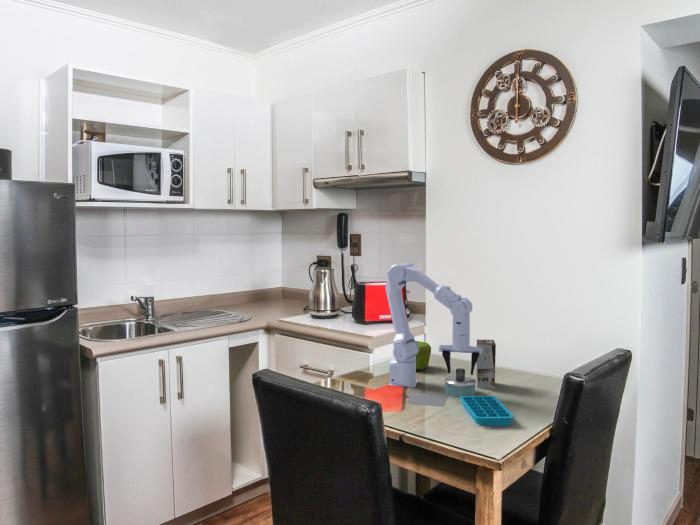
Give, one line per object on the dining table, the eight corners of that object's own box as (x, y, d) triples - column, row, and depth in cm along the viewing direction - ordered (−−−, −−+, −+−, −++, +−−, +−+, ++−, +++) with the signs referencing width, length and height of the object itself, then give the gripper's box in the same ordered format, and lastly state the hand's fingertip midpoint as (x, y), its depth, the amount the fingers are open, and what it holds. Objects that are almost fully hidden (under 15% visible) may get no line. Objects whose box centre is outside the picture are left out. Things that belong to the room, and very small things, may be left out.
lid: (442, 385, 182) (442, 371, 182) (447, 377, 192) (447, 364, 192) (473, 388, 179) (473, 374, 178) (477, 380, 188) (477, 367, 188)
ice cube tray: (475, 428, 155) (475, 418, 155) (458, 405, 175) (458, 396, 175) (515, 427, 155) (515, 417, 155) (494, 404, 176) (494, 395, 175)
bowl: (444, 396, 183) (444, 385, 182) (447, 388, 192) (447, 377, 192) (474, 399, 180) (474, 387, 180) (475, 390, 189) (476, 379, 189)
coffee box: (495, 390, 190) (496, 344, 189) (476, 388, 191) (477, 343, 190) (493, 382, 199) (494, 339, 198) (475, 381, 200) (476, 338, 199)
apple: (397, 364, 225) (397, 337, 224) (426, 363, 226) (426, 337, 225) (403, 372, 212) (404, 344, 212) (434, 371, 214) (434, 343, 213)
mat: (406, 404, 175) (406, 402, 175) (412, 393, 186) (412, 392, 186) (443, 407, 172) (443, 406, 172) (447, 396, 183) (447, 395, 183)
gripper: (438, 335, 183) (437, 374, 184) (482, 337, 179) (481, 378, 180) (440, 331, 189) (440, 369, 190) (483, 333, 186) (482, 372, 186)
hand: (460, 373), depth 185 cm, fingers open, 7 cm apart
